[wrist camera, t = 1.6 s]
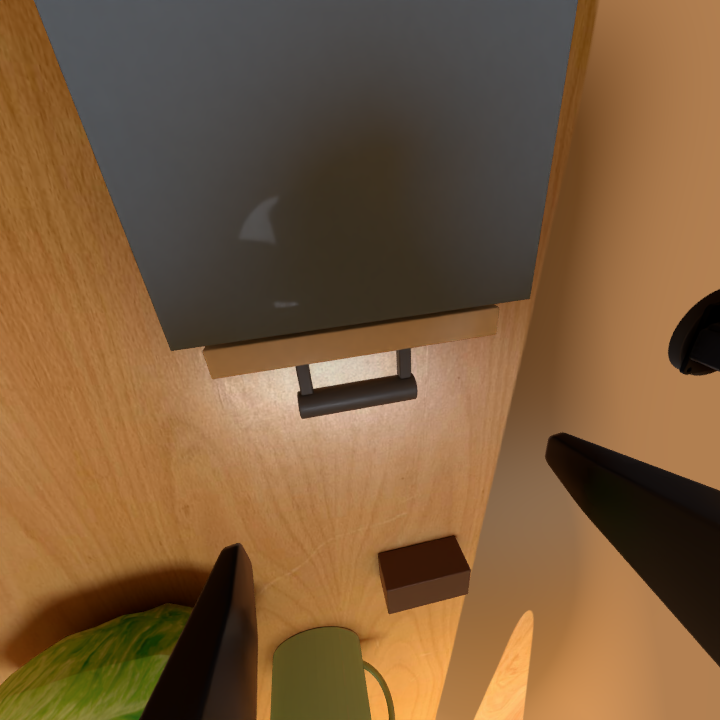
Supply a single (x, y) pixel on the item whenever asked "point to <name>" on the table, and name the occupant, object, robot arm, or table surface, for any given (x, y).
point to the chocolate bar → (423, 574)
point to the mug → (322, 678)
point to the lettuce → (96, 670)
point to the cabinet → (319, 152)
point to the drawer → (351, 355)
